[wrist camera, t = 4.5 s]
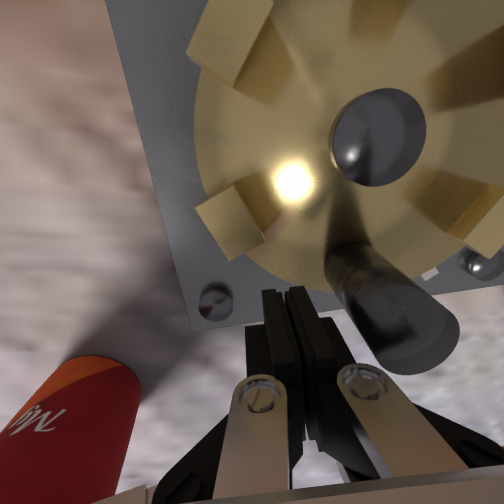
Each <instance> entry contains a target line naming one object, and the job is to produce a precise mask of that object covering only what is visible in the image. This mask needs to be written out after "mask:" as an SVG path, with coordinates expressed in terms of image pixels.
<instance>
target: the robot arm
mask: <svg viewBox="0 0 504 504" xmlns="http://www.w3.org/2000/svg"><path fill="white" fill-rule="evenodd" d="M261 294H262V305H263V315H264V324H261V325H252V326H245V343H246V366H247V378H245V379H244V380H243V381H241V382H240V383H239V384H238V385H237V387H236V388H235V390H234V393H233V396H232V401H231V406H230V411H229V414H228V415H226V416H225V417H224V418H223V419H222V420H221V421H220V422H219V423H218V424H217V425H216V426H215V427H214V428H213V429H212V430H211V431H210V432H209V433H208V434H207V435H206V436H205V437H204V438H203V439H202V440H201V441H199V442H198V443H197V444H196V445H195V446H194V447H193V448H192V449H191V450H190V451H189V452H188V453H187V454H186V455H185V456H184V457H183V458H182V459H181V460H180V461H179V462H178V463H177V464H176V465H175V466H174V467H172V468H171V469H170V470H169V471H168V472H167V473H166V475H165V476H164V477H163V478H162V479H161V481H160V482H159V484H158V485H156V486H153V487H150V488H148V489H147V486H146V484H144V485H141V486H139V487H136V488H133V489H130V490H128V491H125V492H122V493H119V494H117V495H114V496H111V497H108V498H106V499H103V500H100V501H97V502H94V503H92V504H504V446H499V445H498V444H497V443H496V442H494V441H492V440H490V439H489V438H487V437H485V436H483V435H481V434H479V433H477V432H475V431H473V430H470V429H468V428H466V427H464V426H462V425H460V424H457V423H455V422H453V421H451V420H449V419H447V418H444V417H442V416H440V415H438V414H436V413H434V412H432V411H429V410H427V409H425V408H423V407H421V406H419V405H416V404H414V403H412V402H411V401H410V400H409V399H408V397H407V396H406V395H405V394H404V393H403V392H402V390H401V389H400V388H399V387H398V386H397V385H396V384H395V382H394V381H393V380H392V379H391V378H390V377H389V376H388V375H387V374H386V373H385V372H384V371H382V370H381V369H379V368H377V367H375V366H372V365H369V364H362V363H356V361H355V359H354V357H353V356H352V354H351V352H350V350H349V348H348V346H347V344H346V343H345V341H344V339H343V337H342V335H341V333H340V332H339V330H338V328H337V326H336V324H335V322H334V320H333V319H332V318H331V317H324V318H319V316H318V314H317V312H316V310H315V308H314V305H313V303H312V301H311V299H310V297H309V295H308V293H307V291H306V288H305V286H304V285H303V286H294V287H289V291H284V297H285V302H284V299H283V295H282V292H276V289H266V290H261ZM305 424H306V428H307V432H308V436H309V439H310V440H316V442H317V446H318V450H319V452H325V453H327V454H328V455H330V456H331V457H333V458H334V459H336V464H337V467H338V470H339V473H340V475H341V477H342V479H343V481H344V483H342V484H334V485H325V486H317V487H309V488H300V489H293V471H292V469H293V468H294V466H295V465H296V464H297V462H298V461H299V459H300V458H301V456H302V455H303V443H302V441H305V440H306V436H305Z"/></svg>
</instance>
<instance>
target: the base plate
mask: <svg viewBox="0 0 504 504" xmlns="http://www.w3.org/2000/svg"><path fill="white" fill-rule="evenodd" d="M208 1H209V0H105V3H106V6H107V10H108V14H109V18H110V22H111V25H112V29H113V33H114V37H115V41H116V44H117V48H118V52H119V56H120V60H121V63H122V67H123V71H124V75H125V79H126V82H127V86H128V90H129V94H130V98H131V101H132V105H133V109H134V113H135V117H136V120H137V124H138V128H139V132H140V135H141V139H142V143H143V147H144V151H145V154H146V158H147V162H148V166H149V170H150V173H151V177H152V181H153V185H154V189H155V192H156V196H157V200H158V204H159V208H160V211H161V215H162V219H163V223H164V227H165V230H166V234H167V238H168V242H169V246H170V249H171V253H172V257H173V261H174V265H175V268H176V272H177V276H178V280H179V284H180V287H181V291H182V295H183V299H184V303H185V306H186V310H187V314H188V318H189V322H190V325H191V329H192V332H193V331H200V330H207V329H213V328H220V327H226V326H233V325H240V324H246V323H253V322H260V321H264V315H263V305H262V294H261V290H266V289H276V292H282V295H283V299H284V302H285V297H284V291H289V287H294V286H298V285H294V284H292V283H290V282H287V281H285V280H283V279H281V278H278V277H276V276H275V275H273V274H271V273H270V272H268V271H266V270H265V269H263V268H262V267H260V266H259V265H258V264H256V263H255V262H254V261H253V260H252V259H250V258H249V257H248V256H247V255H246V254H245V253H243V254H241V255H240V256H238V257H236V258H234V259H232V260H230V261H229V260H228V259H227V257H226V256H225V254H224V253H223V251H222V250H221V248H220V247H219V245H218V244H217V242H216V240H215V239H214V237H213V236H212V234H211V233H210V231H209V230H208V228H207V227H206V225H205V223H204V222H203V220H202V219H201V217H200V216H199V214H198V213H197V211H196V210H195V206H196V204H197V203H198V202H199V201H201V200H202V199H204V198H206V197H207V195H206V192H205V190H204V187H203V184H202V180H201V176H200V172H199V168H198V164H197V158H196V149H195V140H194V110H195V102H196V94H197V87H198V81H199V77H200V74H201V70H202V67H200V66H199V65H197V64H196V63H194V62H193V61H191V60H190V59H189V57H188V55H187V53H186V50H187V48H188V46H189V43H190V41H191V39H192V37H193V34H194V32H195V30H196V28H197V25H198V23H199V21H200V19H201V16H202V14H203V12H204V10H205V7H206V5H207V3H208ZM411 280H412V281H413V282H415V283H416V284H417V285H418V286H419V287H421V288H422V289H423V290H424V291H426V292H427V293H428V294H429V295H430V296H431V295H438V294H445V293H451V292H458V291H464V290H471V289H478V288H484V287H491V286H497V285H504V245H503V246H502V247H501V248H500V249H499V250H498V251H497V252H496V253H495V255H494V256H493V257H492V258H491V259H489V258H486V257H484V256H482V255H480V254H478V253H476V252H474V251H472V250H471V249H469V248H468V247H466V246H464V247H463V248H462V249H460V250H459V251H458V252H457V253H456V254H454V255H453V256H451V257H450V258H448V259H447V260H446V261H444V262H443V263H441V264H440V265H438V266H436V267H435V268H433V269H431V270H429V271H427V272H425V273H424V274H422V275H420V276H417V277H415V278H413V279H411ZM306 291H307V293H308V295H309V297H310V299H311V301H312V303H313V305H314V308H315V310H316V312H317V313H319V312H326V311H332V310H339V309H344V307H343V306H342V304H341V302H340V301H339V299H338V298H337V296H336V295H335V293H331V292H323V291H317V290H311V289H308V288H306Z"/></svg>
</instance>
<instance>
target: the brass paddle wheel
mask: <svg viewBox="0 0 504 504" xmlns="http://www.w3.org/2000/svg"><path fill="white" fill-rule="evenodd" d="M186 53H187V55H188V57H189V59H190V60H191V61H193V62H194V63H196V64H197V65H199V66H200V67H202V70H201V74H200V77H199V81H198V87H197V94H196V102H195V110H194V140H195V149H196V158H197V164H198V168H199V172H200V176H201V180H202V184H203V187H204V190H205V192H206V195H207V197H206V198H204V199H202V200H201V201H199V202H198V203H197V204H196V206H195V210H196V211H197V213H198V214H199V216H200V217H201V219H202V220H203V222H204V223H205V225H206V227H207V228H208V230H209V231H210V233H211V234H212V236H213V237H214V239H215V240H216V242H217V244H218V245H219V247H220V248H221V250H222V251H223V253H224V254H225V256H226V257H227V259H228V260H229V261H230V260H232V259H234V258H236V257H238V256H240V255H241V254H243V253H245V254H246V255H247V256H248V257H249V258H250V259H252V260H253V261H254V262H255V263H256V264H258V265H259V266H260V267H262V268H263V269H265V270H266V271H268V272H270V273H271V274H273V275H275V276H276V277H278V278H281V279H283V280H285V281H287V282H290V283H292V284H294V285H298V286H303V285H304V286H305V288H308V289H311V290H317V291H323V292H331V293H335V295H336V296H337V298H338V299H339V301H340V302H341V304H342V306H343V307H344V309H345V310H346V312H347V314H348V315H349V317H350V318H351V320H352V321H353V323H354V325H355V326H356V328H357V329H358V331H359V332H360V334H361V336H362V337H363V339H364V340H365V342H366V343H367V345H368V347H369V348H370V350H371V351H372V353H373V355H374V356H375V358H376V359H377V361H378V362H379V364H380V365H381V366H382V367H383V368H384V369H386V370H387V371H389V372H391V373H394V374H399V375H414V374H419V373H423V372H426V371H428V370H430V369H432V368H434V367H436V366H438V365H439V364H440V363H442V362H443V361H444V360H445V359H446V358H447V357H448V356H449V355H450V354H451V353H452V351H453V350H454V348H455V347H456V345H457V342H458V339H459V334H460V328H459V323H458V321H457V319H456V317H455V316H454V315H453V314H452V313H451V312H450V311H449V310H448V309H446V308H445V307H444V306H443V305H441V304H440V303H439V302H438V301H437V300H435V299H434V298H433V297H432V296H430V295H429V294H428V293H427V292H426V291H424V290H423V289H422V288H421V287H419V286H418V285H417V284H416V283H415V282H413V281H412V280H411V279H413V278H415V277H417V276H420V275H422V274H424V273H425V272H427V271H429V270H431V269H433V268H435V267H436V266H438V265H440V264H441V263H443V262H444V261H446V260H447V259H448V258H450V257H451V256H453V255H454V254H456V253H457V252H458V251H459V250H460V249H462V248H463V247H464V246H466V247H468V248H469V249H471V250H472V251H474V252H476V253H478V254H480V255H482V256H484V257H486V258H489V259H491V258H492V257H493V256H494V255H495V253H496V252H497V251H498V250H499V249H500V248H501V247H502V246H503V245H504V0H209V1H208V3H207V5H206V7H205V10H204V12H203V14H202V16H201V19H200V21H199V23H198V25H197V28H196V30H195V32H194V34H193V37H192V39H191V41H190V43H189V46H188V48H187V50H186Z"/></svg>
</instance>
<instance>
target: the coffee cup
mask: <svg viewBox="0 0 504 504" xmlns="http://www.w3.org/2000/svg"><path fill="white" fill-rule="evenodd" d="M140 398H141V386H140V383H139V380H138V378H137V377H136V375H135V374H134V373H133V372H132V371H131V370H130V369H129V368H128V367H127V366H125V365H124V364H122V363H120V362H118V361H116V360H114V359H111V358H108V357H104V356H97V355H85V356H79V357H75V358H72V359H70V360H68V361H66V362H65V363H63V364H62V365H61V366H60V367H59V368H57V370H56V371H55V372H54V373H53V374H52V375H51V376H50V377H49V378H48V379H47V380H46V381H45V382H44V383H43V385H42V386H41V387H40V388H39V389H38V390H37V391H36V392H35V393H34V395H33V396H32V397H31V398H30V399H29V400H28V401H27V403H26V404H25V405H24V406H23V407H22V408H21V409H20V411H19V412H18V413H17V414H16V415H15V416H14V417H13V419H12V420H11V421H10V422H9V423H8V424H7V425H6V427H5V428H4V429H3V430H2V431H1V432H0V504H92V503H94V502H97V501H100V500H103V499H106V498H108V497H111V496H114V495H115V492H116V488H117V485H118V481H119V478H120V474H121V470H122V467H123V463H124V460H125V456H126V452H127V449H128V445H129V441H130V438H131V434H132V430H133V427H134V423H135V419H136V415H137V411H138V407H139V403H140Z"/></svg>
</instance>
